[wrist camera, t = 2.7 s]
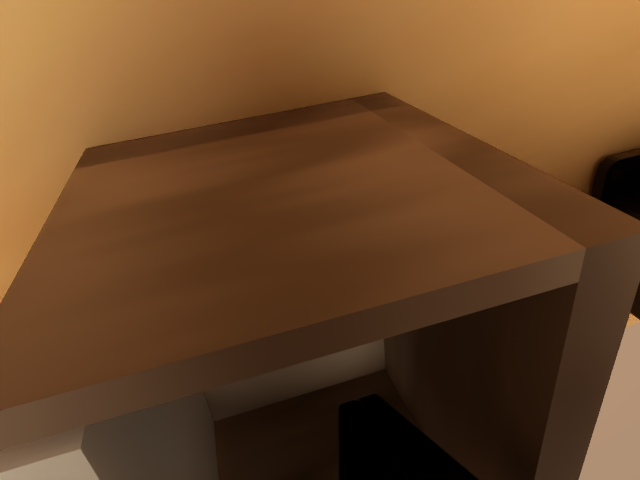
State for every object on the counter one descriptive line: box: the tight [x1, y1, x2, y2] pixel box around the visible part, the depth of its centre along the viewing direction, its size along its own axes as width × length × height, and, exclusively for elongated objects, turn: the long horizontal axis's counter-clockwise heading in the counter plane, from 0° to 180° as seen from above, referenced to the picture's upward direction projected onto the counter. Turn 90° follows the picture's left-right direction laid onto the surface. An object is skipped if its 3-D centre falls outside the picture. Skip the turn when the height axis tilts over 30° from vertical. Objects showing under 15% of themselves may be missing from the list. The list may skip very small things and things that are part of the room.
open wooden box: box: [0, 92, 640, 480], centre depth 11 cm, size 8×10×8 cm
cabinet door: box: [0, 392, 219, 480], centre depth 10 cm, size 1×8×7 cm, turn 7°
